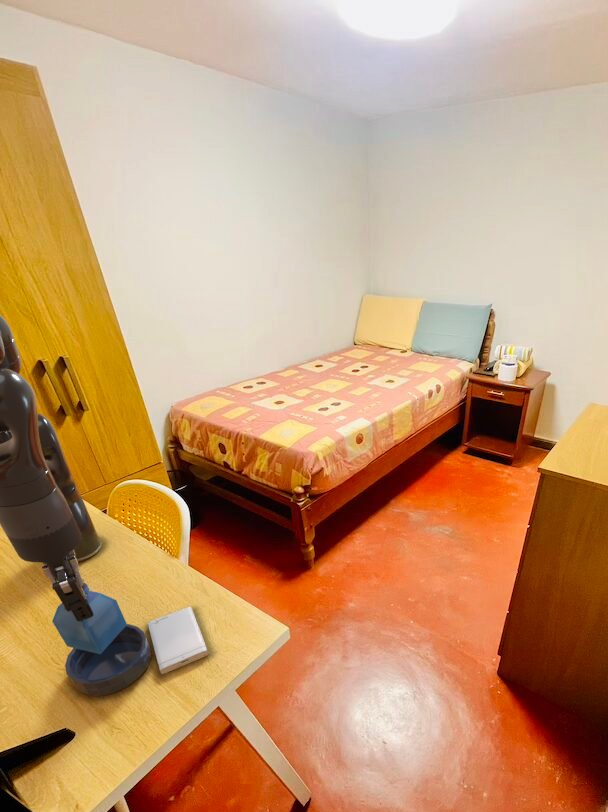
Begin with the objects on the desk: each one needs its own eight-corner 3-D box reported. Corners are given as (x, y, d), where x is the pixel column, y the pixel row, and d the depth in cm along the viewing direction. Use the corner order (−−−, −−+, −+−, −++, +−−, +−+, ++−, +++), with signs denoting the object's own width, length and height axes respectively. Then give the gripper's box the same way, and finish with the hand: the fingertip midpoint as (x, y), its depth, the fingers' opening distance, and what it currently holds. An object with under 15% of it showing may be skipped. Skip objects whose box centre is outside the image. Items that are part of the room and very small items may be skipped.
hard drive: (146, 622, 82) (159, 669, 74) (191, 605, 86) (207, 649, 78) (149, 627, 83) (161, 675, 75) (192, 611, 87) (209, 654, 78)
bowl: (69, 659, 76) (60, 645, 74) (142, 627, 83) (136, 613, 80) (80, 710, 69) (71, 697, 66) (159, 671, 75) (154, 658, 73)
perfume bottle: (100, 654, 68) (73, 603, 61) (67, 646, 69) (36, 595, 62) (127, 624, 73) (104, 574, 66) (95, 617, 74) (70, 567, 67)
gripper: (79, 537, 55) (118, 623, 64) (63, 488, 64) (100, 570, 73) (6, 559, 51) (60, 647, 60) (0, 503, 60) (48, 588, 69)
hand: (82, 604), depth 67 cm, fingers closed on perfume bottle, 5 cm apart
